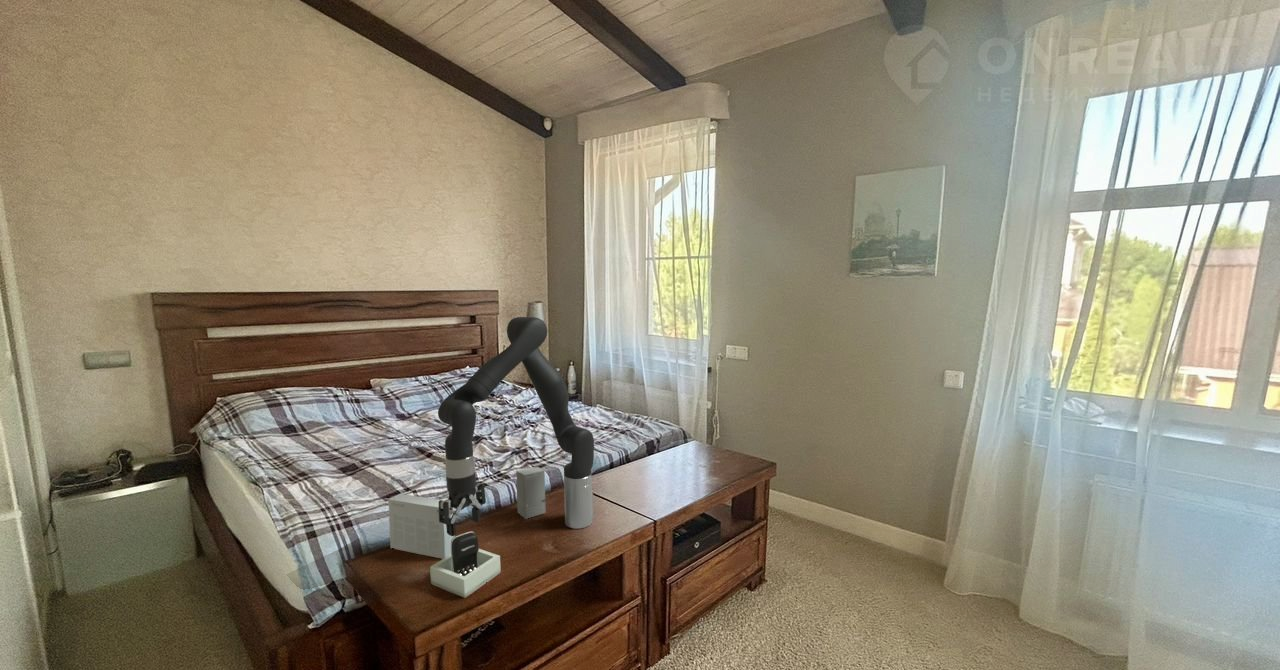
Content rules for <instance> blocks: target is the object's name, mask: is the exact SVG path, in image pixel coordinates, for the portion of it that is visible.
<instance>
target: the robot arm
mask: <svg viewBox="0 0 1280 670" xmlns="http://www.w3.org/2000/svg"><path fill="white" fill-rule="evenodd" d="M506 335H507V338H508V341H509V342H510V345H509V346H507V347H506V348H505V349H503V350H502V351H501V352H500V353H498V354H496V355H495V356H494V357H492V358H490V359H489V360H487V361H486V362H485V363H484V364H482V365H481V366H480V367H479V368H478V369H477V370H476V371H475V372H474V373H473V375H471V376H470V377H469V379H468V380H467V381H466V383H464V384H463V385H462V386H460V387H458V388H457V389H456V390H454V391H453V392H452V393H450V394H449V395H448V396H446V397H445V398H444V400H442V402H441V403H440V405H439V407H438V411H437V416H438V419H439V420H440V422H442V423H444V424H446V425H449V426H451V433H450V434H449V435H447V436H446V438H445V440H444V449H445V478H446V490H447V492H448V497H447V499H445V500H444V501H442V500H443V499H439V500H440V501H439V522H440V523H443V524H446V528H447V534H449V535H450V536H457V532H456V529H457V528H456V522H455V521H456V519H457V517H458V516H459V515H460V513H461V511H463V510H464V509H465V508H467V507H472V508H471V516H472V517H471V518H472V519H471V520H472V521H473V522H475V523H478V522H480V520H481V508H482V506H483V505H485V504H486V503H487V500H486V492H485V491H486V490H485V484H484V483H481V482H477V476H476V475H477V474H476V462H475V456H474V446H473V445H474V443H473V438H474V434H475V428H476V422H477V411H476V410H475V407H474V406H473V405H474V404H476V403H482V402H484V401H485V400H486V399H488V397H489V396H490V395H491V394H492V393H493V392H494V391H495V390H496V388H497V387H498V386H499V385H500V383H501V382H502V381H503V380H504V379H505V378H506V377H507V376H508V375H509V374H510V373H511V372H512V371H514V369H515V368H516V367H517V366H518V365H519V364H521V363H522V364H523V366H524V369H525V371H526V372H527V375H528V377H529V379H530V380H531V383H532V385H533V387H534V390H535V391H536V393H537V396H538V398H539V400H540V402H541V404H542V406H543V408H544V410H545V414H546V415H547V417H548V419H549V420H550V421H549V422H550V423H551V426H552V428H553V429H552V430H553V431H554V435H555V438H556V440H557V443H558V445H559V446H558V447H560V449H561V451H563V452H565V453H567V454H570V455H571V460H570V461H571V462H568V463H566V464H565V465H564V467H563V484H564V485H563V487H564V491H563V493H564V494H563V495H564V525H565V526H566V527H568V528H571V529H576V530H577V529H584V528H588V527H589V526H591V525H592V524H593V519H595V517H594V492H593V490H592V489H593V488H592V487H593V486H592V485H593V484H592V470H593V469H592V468H593V466H594V457H595V439H594V435H593V433H592V432H591V431H590V430H589V429H587V428H584V427H580V426H578V425H576V424H575V422H574V421H573V418H572V416H571V415H570V412H569V399H570V396H569V395H570V393H569V390H568V388H567V385H566V383H565V381H564V378H563V376H562V375H561V374H560V372H559V371H558V369H557V368H556V366H554V365H553V364H552V363H551V362H550V361H549V360H548V359H547V358H546V356H545V355H544V354H543V353H542V351H541V349H540V347H541V346H542V345H543V343H544V342H545V340H546V339H547V336H548V326H547V324H546V322H545V321H544V320H542V319H540V318H539V317H536V316H535V317H534V316H517V317H514V318H511V320H509V322H508V324H507V327H506ZM453 507H454V511H453ZM452 514H453V515H452ZM451 515H452V517H451ZM450 517H451V518H450Z"/></svg>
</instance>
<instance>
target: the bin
mask: <svg viewBox="0 0 1280 670" xmlns="http://www.w3.org/2000/svg"><path fill="white" fill-rule="evenodd" d="M477 564H478V568H476V569H475V570H473V571H472V572H470V573H469V574H467V575H466V576H462V575H459V574H457V573H454V572H453V568H452V558H451V555H449V556H447V557H446V558H444V559H441V560H439V561H437V562H436V563H434V564H432V565H431V566H430V567H429V568H430V569H429V572H430V583H431V585H433V586H435V587H437V588H440V589H442V590H445V591H446V592H449V593H452V594H454V595H457V596H459V597H462V598H463V599H465V598H467V597H468V596H471V594H473V593H474V592H475V591H477V590H478V589H480V588H481V587H482V586H484V585H486V582H487V583H488V582H490V581H491V580H493V579H494V578H495V577H496V576H498V575H499V574H500V573H502V572H501V571H502V570H501V555H499V554H496V553H493V552H489V551H487V550H484V549H481V548H479V551H478V552H477Z"/></svg>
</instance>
